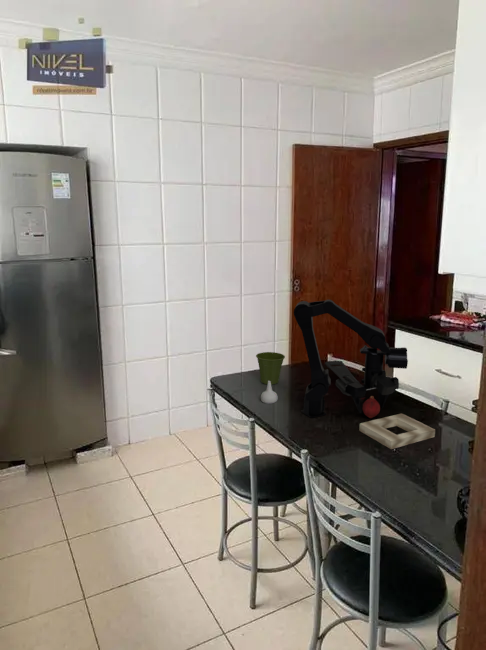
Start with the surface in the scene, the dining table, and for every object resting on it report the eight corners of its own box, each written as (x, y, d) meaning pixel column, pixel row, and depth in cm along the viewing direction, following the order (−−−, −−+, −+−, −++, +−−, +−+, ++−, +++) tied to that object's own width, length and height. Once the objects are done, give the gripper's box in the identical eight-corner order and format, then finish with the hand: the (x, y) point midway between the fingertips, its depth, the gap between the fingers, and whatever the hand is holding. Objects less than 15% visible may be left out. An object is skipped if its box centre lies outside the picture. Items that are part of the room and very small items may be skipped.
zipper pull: (342, 360, 207) (369, 378, 183) (341, 374, 209) (368, 395, 185) (323, 361, 205) (347, 380, 181) (322, 376, 207) (346, 397, 183)
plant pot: (278, 388, 191) (278, 361, 189) (250, 384, 196) (251, 357, 194) (288, 379, 201) (289, 353, 199) (262, 375, 206) (262, 350, 204)
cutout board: (391, 449, 142) (391, 441, 141) (359, 430, 154) (359, 423, 153) (434, 437, 150) (435, 429, 149) (401, 420, 162) (401, 413, 161)
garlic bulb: (280, 404, 177) (282, 383, 176) (265, 405, 174) (267, 383, 173) (271, 398, 182) (274, 378, 181) (257, 399, 180) (259, 378, 178)
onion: (378, 422, 160) (380, 400, 158) (360, 420, 162) (362, 397, 160) (380, 416, 165) (381, 394, 163) (362, 413, 167) (364, 392, 165)
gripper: (368, 377, 148) (365, 424, 152) (413, 369, 157) (409, 414, 160) (345, 367, 158) (343, 412, 161) (388, 360, 166) (385, 402, 170)
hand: (370, 410), depth 163 cm, fingers open, 9 cm apart
